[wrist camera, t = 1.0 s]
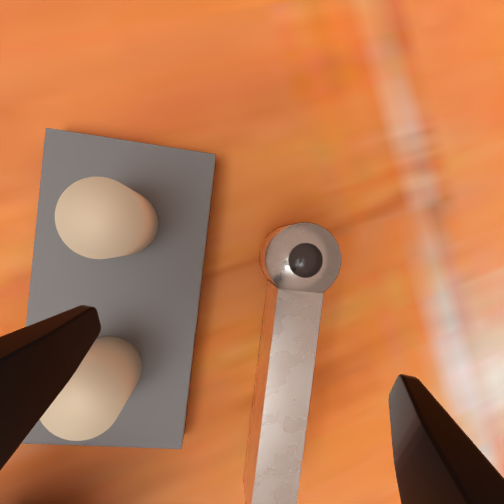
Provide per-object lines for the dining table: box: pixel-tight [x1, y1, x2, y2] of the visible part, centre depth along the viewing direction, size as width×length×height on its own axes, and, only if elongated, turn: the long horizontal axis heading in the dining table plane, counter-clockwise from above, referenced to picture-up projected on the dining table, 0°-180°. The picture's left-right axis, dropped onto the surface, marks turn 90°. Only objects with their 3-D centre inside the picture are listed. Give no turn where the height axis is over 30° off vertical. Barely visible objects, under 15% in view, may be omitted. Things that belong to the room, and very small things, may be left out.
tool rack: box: [22, 128, 216, 449], centre depth 18 cm, size 21×11×6 cm, turn 173°
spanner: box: [243, 222, 341, 504], centre depth 20 cm, size 20×5×4 cm, turn 173°
